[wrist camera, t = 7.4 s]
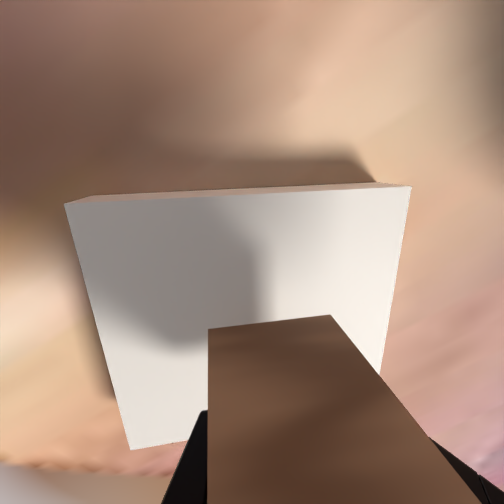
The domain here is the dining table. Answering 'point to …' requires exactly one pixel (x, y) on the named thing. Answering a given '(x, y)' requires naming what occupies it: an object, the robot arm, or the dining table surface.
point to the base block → (227, 280)
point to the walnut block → (313, 423)
